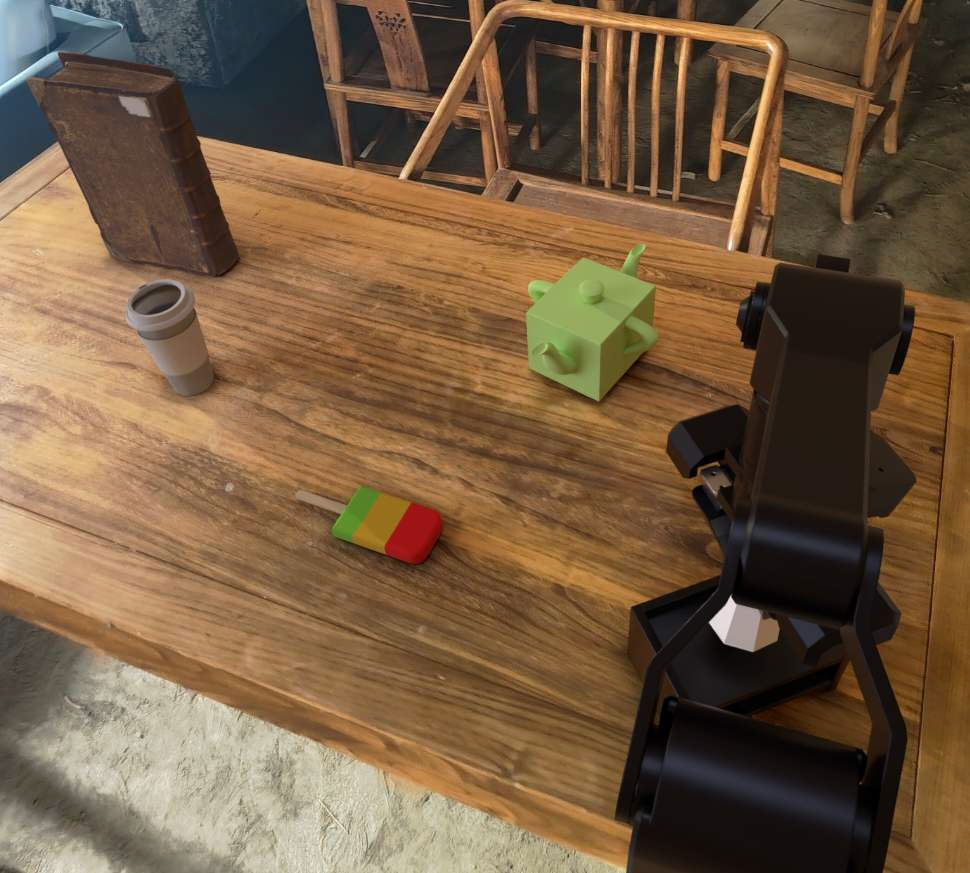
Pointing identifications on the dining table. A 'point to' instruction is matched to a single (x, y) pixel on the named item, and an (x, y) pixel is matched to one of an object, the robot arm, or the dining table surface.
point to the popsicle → (383, 523)
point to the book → (137, 162)
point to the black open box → (720, 659)
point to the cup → (172, 334)
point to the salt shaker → (744, 627)
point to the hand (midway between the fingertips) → (753, 592)
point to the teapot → (591, 324)
